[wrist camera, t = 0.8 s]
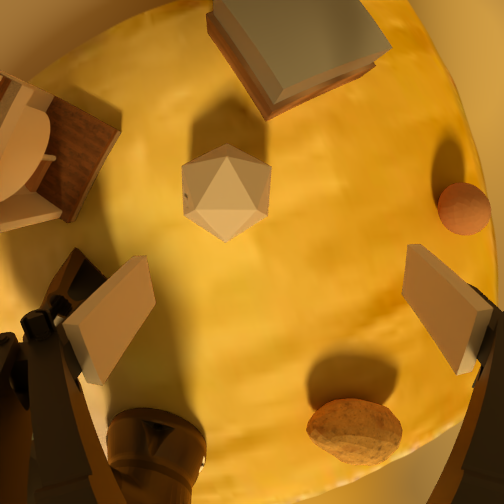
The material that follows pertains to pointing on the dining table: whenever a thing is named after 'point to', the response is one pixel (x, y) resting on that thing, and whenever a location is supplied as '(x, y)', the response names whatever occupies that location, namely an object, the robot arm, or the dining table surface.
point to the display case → (46, 155)
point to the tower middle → (301, 40)
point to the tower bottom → (255, 86)
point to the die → (226, 191)
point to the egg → (464, 209)
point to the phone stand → (71, 286)
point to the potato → (355, 431)
